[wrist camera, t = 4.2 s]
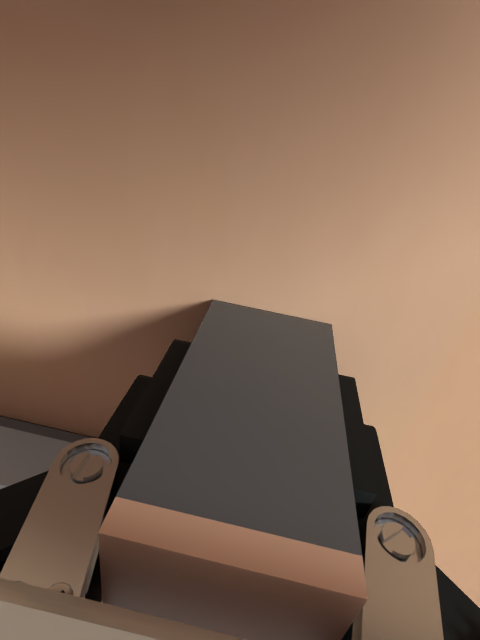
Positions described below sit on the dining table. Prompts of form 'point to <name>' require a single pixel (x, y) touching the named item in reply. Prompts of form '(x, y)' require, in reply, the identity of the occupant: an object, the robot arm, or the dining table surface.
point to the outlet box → (29, 449)
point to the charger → (243, 489)
